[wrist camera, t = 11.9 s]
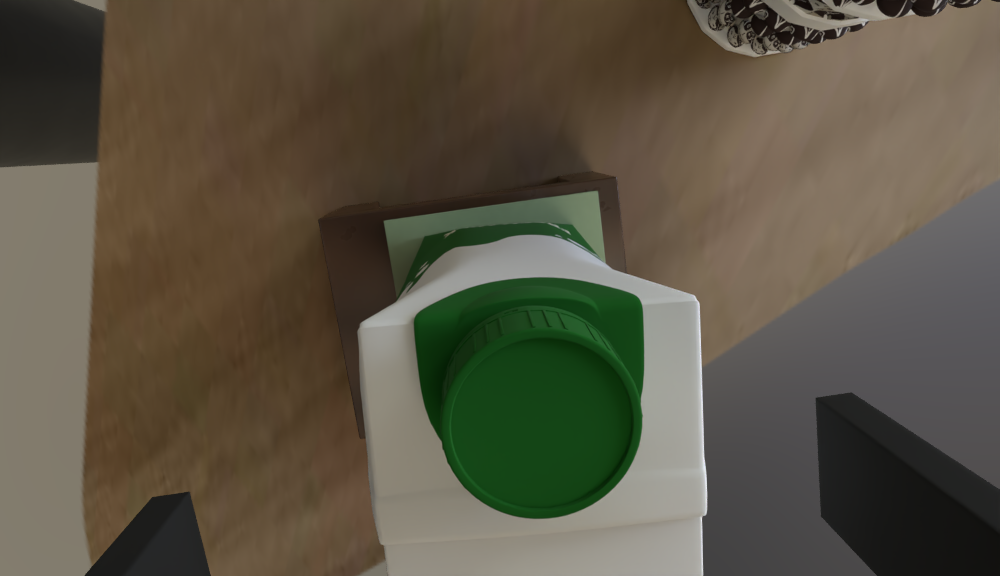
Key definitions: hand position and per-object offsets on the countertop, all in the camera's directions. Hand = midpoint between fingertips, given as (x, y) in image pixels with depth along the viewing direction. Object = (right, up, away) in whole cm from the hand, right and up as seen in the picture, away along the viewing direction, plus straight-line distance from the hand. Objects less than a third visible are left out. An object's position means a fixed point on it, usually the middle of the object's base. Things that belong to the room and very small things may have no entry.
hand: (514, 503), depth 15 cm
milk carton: (0, +4, +19) cm, 20 cm away
